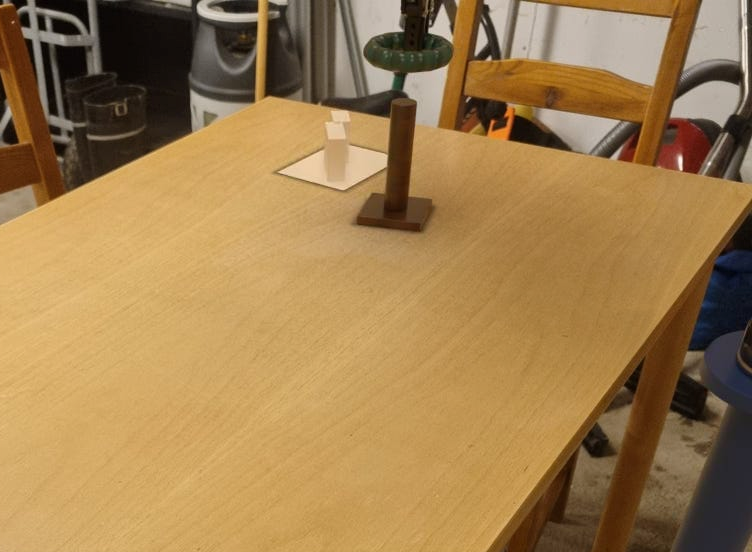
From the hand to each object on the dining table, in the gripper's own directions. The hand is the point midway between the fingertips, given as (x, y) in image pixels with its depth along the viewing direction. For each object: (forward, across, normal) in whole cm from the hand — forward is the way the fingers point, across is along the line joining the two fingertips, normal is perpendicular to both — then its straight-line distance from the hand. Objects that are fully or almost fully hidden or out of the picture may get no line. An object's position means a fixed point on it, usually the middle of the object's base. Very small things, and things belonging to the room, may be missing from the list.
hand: (414, 51), depth 108 cm
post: (+17, -4, 0) cm, 18 cm away
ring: (-1, -4, 0) cm, 4 cm away
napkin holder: (+17, +11, +11) cm, 23 cm away
